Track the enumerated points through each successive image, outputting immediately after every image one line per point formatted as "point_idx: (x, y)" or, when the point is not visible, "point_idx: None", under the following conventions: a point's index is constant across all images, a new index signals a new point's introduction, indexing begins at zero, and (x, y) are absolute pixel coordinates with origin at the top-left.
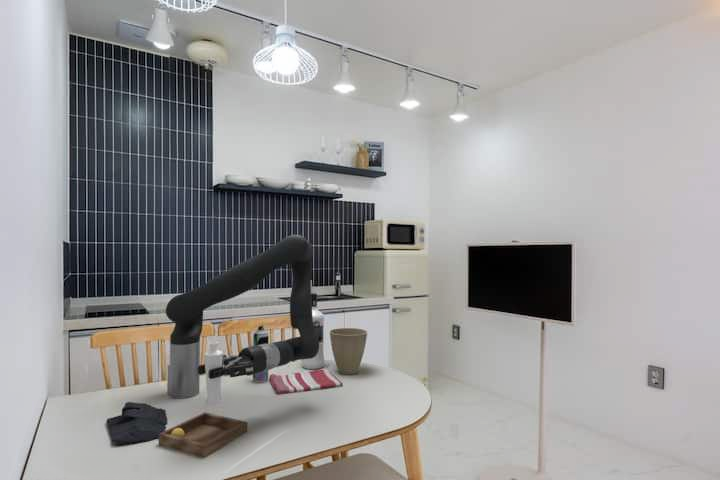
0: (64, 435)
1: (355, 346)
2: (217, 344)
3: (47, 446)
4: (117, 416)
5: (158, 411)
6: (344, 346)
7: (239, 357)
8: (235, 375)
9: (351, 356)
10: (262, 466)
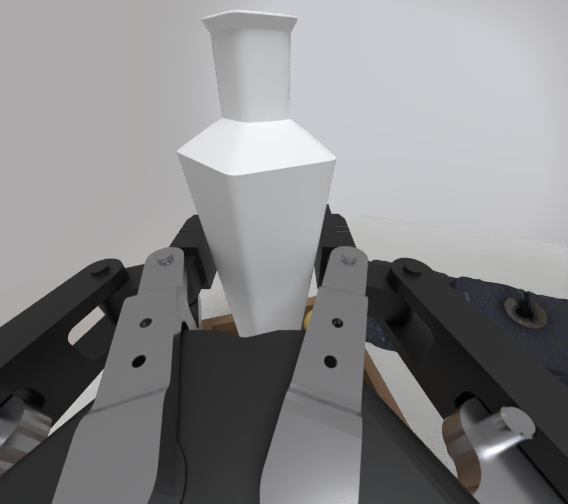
0: (465, 246)
1: None
2: (230, 49)
3: (429, 231)
4: (521, 297)
5: None
6: None
7: (134, 478)
8: (101, 321)
9: None
10: None
